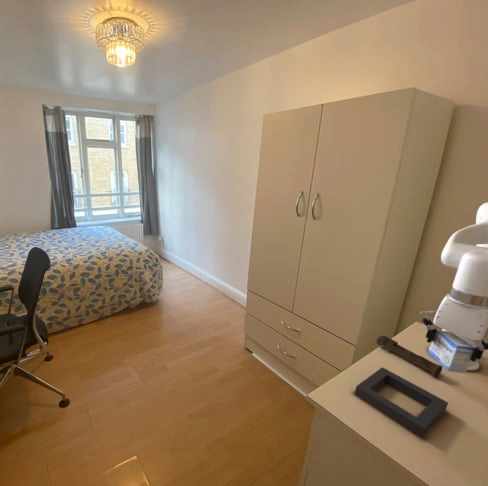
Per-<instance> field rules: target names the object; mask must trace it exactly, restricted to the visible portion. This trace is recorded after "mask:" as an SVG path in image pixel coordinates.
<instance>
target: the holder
mask: <svg viewBox="0 0 488 486" xmlns="http://www.w3.org/2000/svg"><path fill="white" fill-rule="evenodd" d="M385 384H386V385H388V386H390V387H392V388H393V389H394V390H397V391H399V392H400V393H402V394H404V395H405V396H407V397H409V398H411V399H412V400H414V401H417V402H418V403H419V404H421V405H423V406H425V408H424V409H423V410H422V411H421V412H419V414H418V415H417V416H415V415H414V414H412V413H411V412H409V411H408V410H406V409H404V408H403V407H401V406H399V405H398V404H396V403H394V402H393V401H391V400H389V398H386V397H385V396H383V395H381V394H380V393H378V392H377V390H378V389H380V388H381V387H382V386H384V385H385ZM354 395H355V396H356V397H357V398H359V399H360V400H362V401H364V402H365V403H367V404H368V405H370V406H371V407H373V408H374V409H376V410H377V411H379V412H380V413H382V414H383V415H384V416H386V417H387V418H390V419H391V420H392V421H394V422H396V423H397V424H398V425H400V426H402V427H403V428H405V429H406V430H408V431H409V432H410V433H412V434H413V435H414V436H416V437H418V438H419V439H423V438H424V436H425V435H426V434H427V433H428V432H429V430H430V429H432V427H433V426H434V425H435V424H436V422H437V421H438V420H439V419H440V418H441V417H442V416H443V415H444V414H445V412H446V410H447V407H448V405H449V402H448V401H446V400H444V399H443V398H441V397H439V396H437V395H435V394H433V393H431V392H430V391H427V390H426V389H424V388H422V387H420V386H419V385H416V384H415V383H413V382H411V381H410V380H407V379H405V378H403V377H402V376H400V375H398V374H396V373H394V372H392V371H390V369H389V370H388V369H387V368H385V367H384V366H382V367H380V368H379V369H378V370H376V371H375V372H373V373H372V374H370V376H368V377H366V378H365V379H364V380H363V381H361V382H360V383H359V384H357V385H356V387H355V391H354Z"/></svg>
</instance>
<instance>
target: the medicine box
mask: <svg viewBox="0 0 488 486" xmlns="http://www.w3.org/2000/svg"><path fill="white" fill-rule="evenodd" d="M430 344H431V345H430V346H431V347H430V346H429V348H430V350H429V349H428V355H429V356H430V357H431V358H433V359H434V360H435V361H436V362H437V363H438V364H439V365H441V366H442V368H444V369H445V370H446V371H447V372H451V373H461V374H466V373H467V371H468V370H467V368H468V366H469V363H470V361H471V360H470V359H471V357H472V354H473V351H474V349H475V348H474V347H473V346H471V345H470V344H468V343H467V342H466V341H464V340H463V339H461V338H460V337H459V336H457V335H456V334H454V333H452V332H449V331H442V329H441V330H439V329H436V333H435V336H434V339H433V341H432V342H431V343H430Z"/></svg>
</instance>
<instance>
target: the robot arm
mask: <svg viewBox="0 0 488 486" xmlns="http://www.w3.org/2000/svg"><path fill="white" fill-rule="evenodd" d="M440 260H441V263H442V264H443V265H444V266H446V267H448V268H452V269H456V274H455V277H454V280H453V283H452V286H451V289H450V291H449V293H447V294H446V295H445V296H444V297H443V299H442V300H441V302H440V303H439V307H438V309H437V310H422V311H420V312H419V316H420V318H421V319H422V323H423V324H424V325H425V326H426V329H427V331H426V335H425V338H426V339H427V340H426V343H428V344H432V341H433V339H434V336H435V333H436V330H437V329H441V331H449V332H452V333H454V334H456V335H457V336H459V337H460V338H461V339H463V340H464V341H466V342H467V343H468V344H470V345H471V346H473V347H474V348H475V349H474V351H473V354H472V357H471V359H470V360H471V361H470V363H469V366H468V368H467V371H477V370H478V369H479V368H480V362H479V361H478V360H481V359H482V357H483V354H484V352H485V351H487V350H488V342H486V340H485V339H484V338H486V337H487V336H488V201H487V202H484V203H482V204H481V205H480V206H479V207H478V209H477V212H476V217H475V224H471V225H468V226H466V227H464V228H461V229H458V230H457V231H455V232H454V233H452V235H451V236H450V237H449V238H448V240H447V242H446V244H445V245H444V247H443V249H442V251H441V254H440ZM429 317H434V318H433V322H432V320H431V319H430V318H429ZM430 347H431V345H430V346H429V347H428V351H429V350H430Z"/></svg>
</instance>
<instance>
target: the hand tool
mask: <svg viewBox="0 0 488 486" xmlns="http://www.w3.org/2000/svg"><path fill="white" fill-rule="evenodd" d="M375 343H376V344H377V345H378V346H379V347H381V346H382V345H383V346H382V347H381V348H382V349H383V350H385V351H387V352H388V353H389V354H395V355H397V356H399V357H400V358H402V359H404V360H406V361H408V362H410V363H412V364H413V365H415V366H417V367H419V368H420V369H422V370H424V371H426V372H428V373H430V374H431V375H432V377H433V378H436V377H438V376H439V375H440V374H441V373H442V371H443V366H442V365H441V364H437V363H434V362H432V361H431V360H429V359H427V358H425V357H423V356H422V355H420V354H417V353H415V352H413V351H411V350H409V349H407V348H406V347H404V346H403V345H402V346H401V345H400V344H398V343H399V342H398V341H396V340H394V339H392V338H390V337H388V336H386V335H380V336H379V337H377V338H376V341H375Z"/></svg>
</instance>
